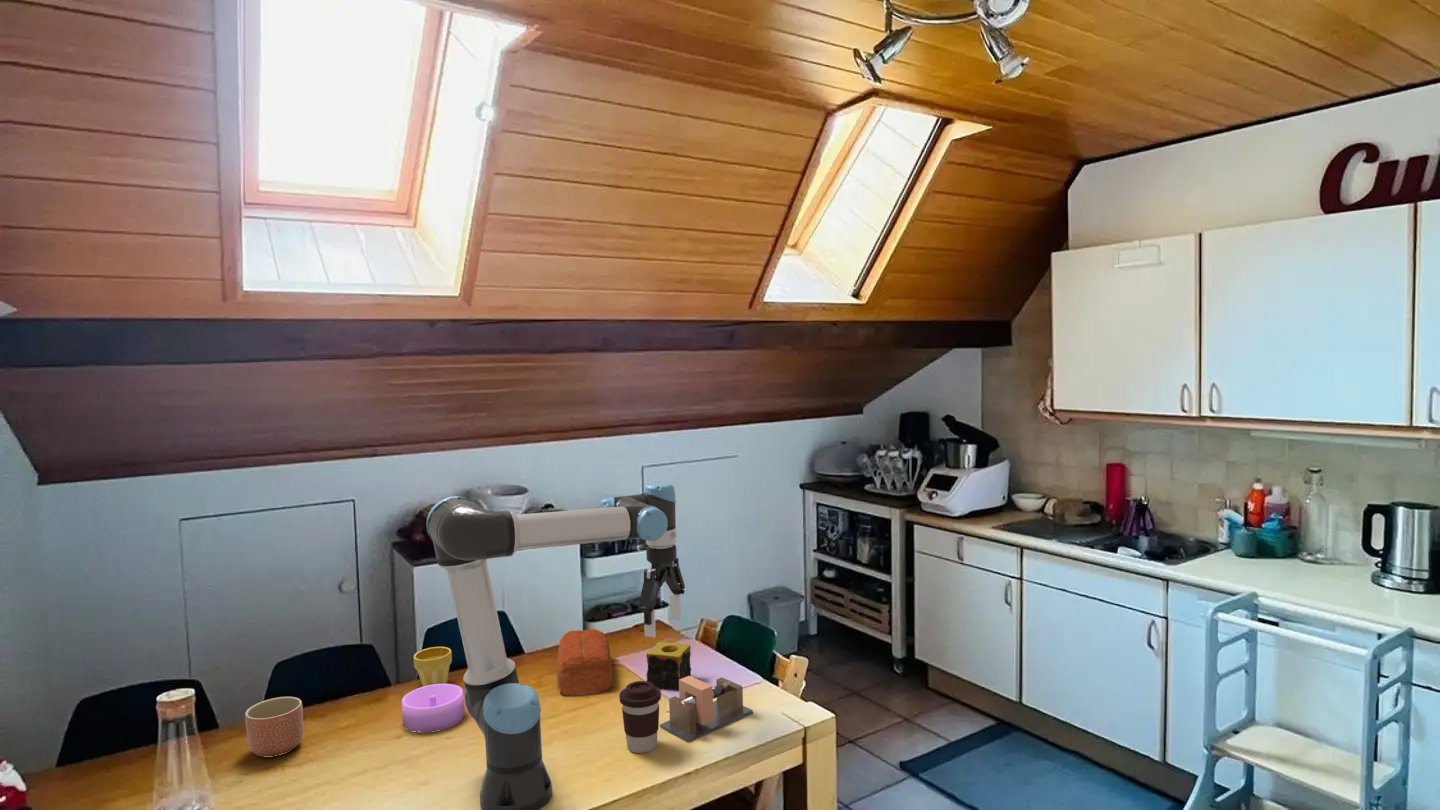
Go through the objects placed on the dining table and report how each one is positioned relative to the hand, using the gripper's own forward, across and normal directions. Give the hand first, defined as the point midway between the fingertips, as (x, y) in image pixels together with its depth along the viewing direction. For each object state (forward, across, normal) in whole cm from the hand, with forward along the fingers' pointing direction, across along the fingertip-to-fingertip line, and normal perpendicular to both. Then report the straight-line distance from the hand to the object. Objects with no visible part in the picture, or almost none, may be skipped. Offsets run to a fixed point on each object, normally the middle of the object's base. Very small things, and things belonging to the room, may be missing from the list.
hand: (663, 627), depth 210 cm
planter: (+26, -47, +83) cm, 99 cm away
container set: (+26, -16, +55) cm, 63 cm away
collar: (+23, +2, -8) cm, 24 cm away
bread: (+26, +18, +36) cm, 48 cm away
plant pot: (+26, -4, +73) cm, 78 cm away
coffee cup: (+26, -12, 0) cm, 28 cm away
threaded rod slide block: (+25, +6, -9) cm, 27 cm away
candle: (+25, +23, +11) cm, 36 cm away
